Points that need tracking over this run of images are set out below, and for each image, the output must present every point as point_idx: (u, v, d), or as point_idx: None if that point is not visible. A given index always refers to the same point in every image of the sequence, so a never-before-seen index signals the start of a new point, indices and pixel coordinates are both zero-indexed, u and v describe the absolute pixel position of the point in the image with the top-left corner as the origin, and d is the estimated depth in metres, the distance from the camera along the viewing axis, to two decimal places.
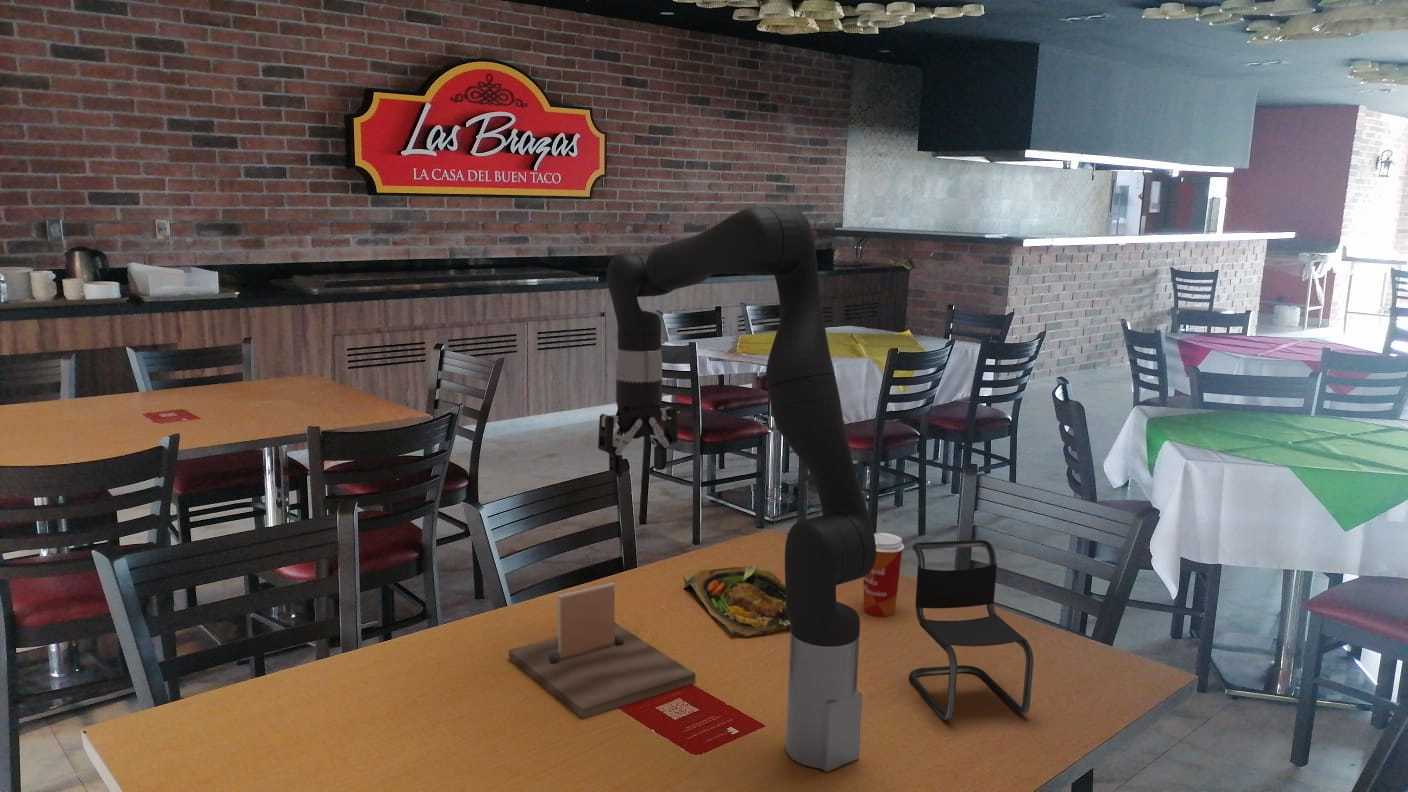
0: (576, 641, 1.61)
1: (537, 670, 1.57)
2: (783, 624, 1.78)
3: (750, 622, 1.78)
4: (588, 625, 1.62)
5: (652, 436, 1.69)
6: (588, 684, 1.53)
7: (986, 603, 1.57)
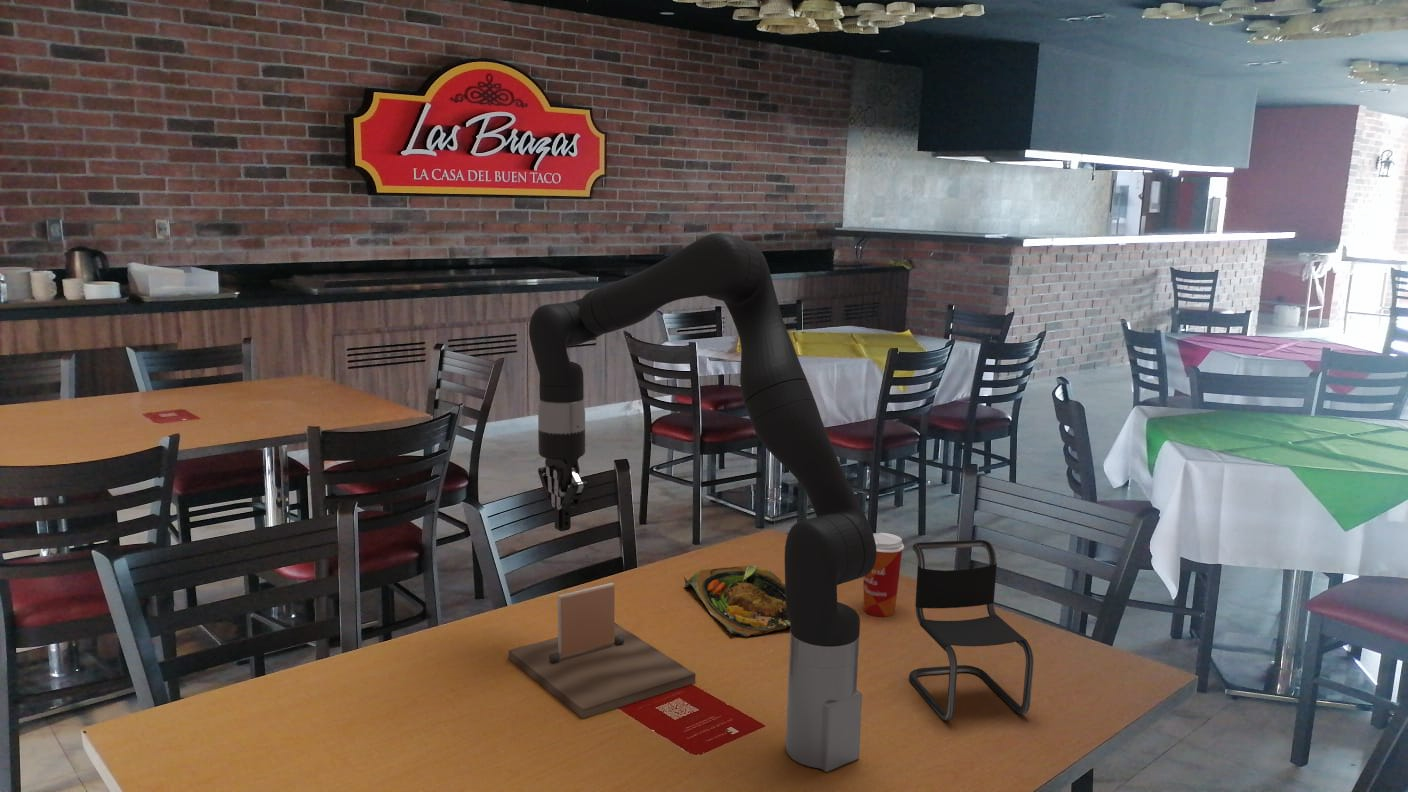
0: (576, 641, 1.61)
1: (537, 670, 1.57)
2: (782, 624, 1.78)
3: (750, 622, 1.78)
4: (588, 625, 1.62)
5: None
6: (588, 684, 1.53)
7: (986, 603, 1.57)
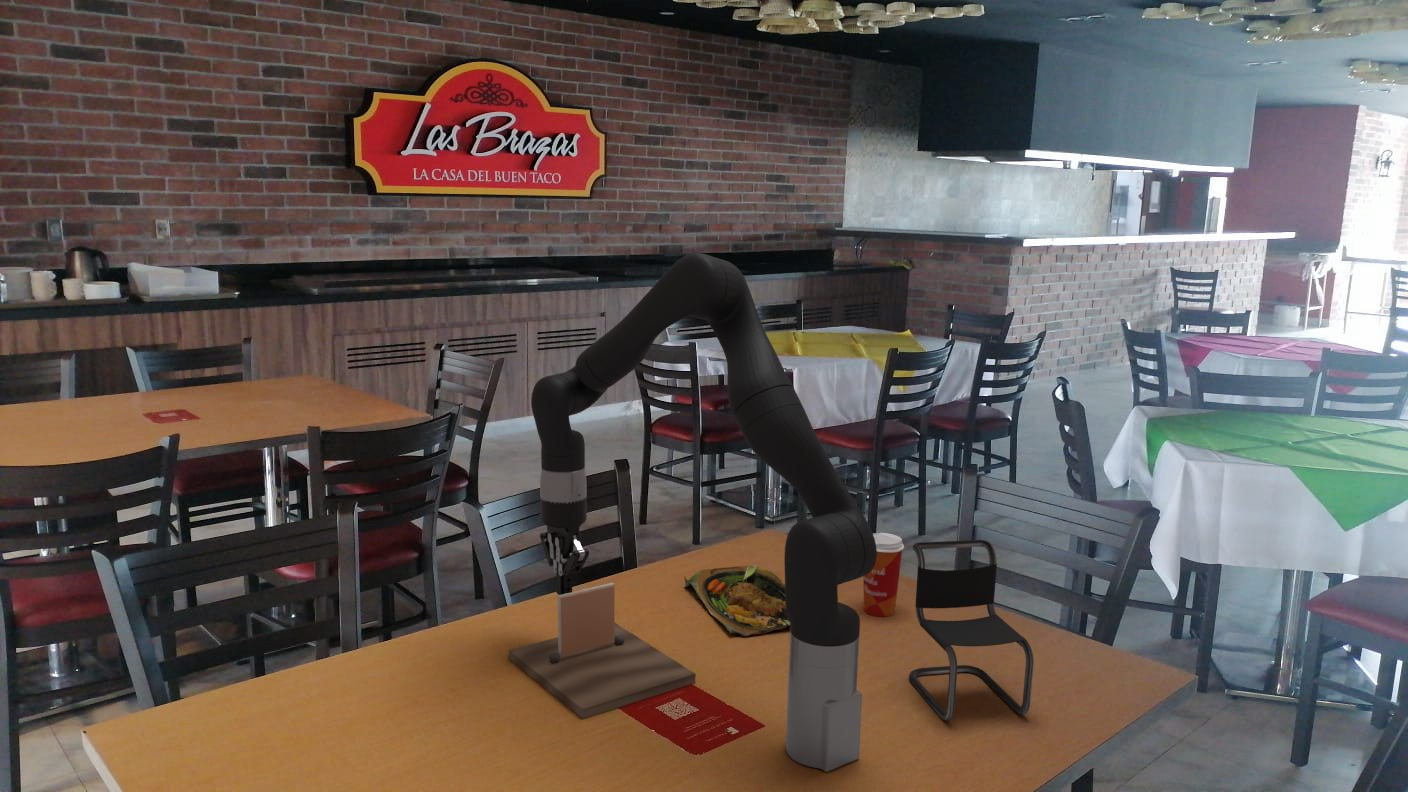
0: (576, 641, 1.61)
1: (537, 670, 1.57)
2: (782, 624, 1.78)
3: (749, 622, 1.78)
4: (588, 625, 1.62)
5: None
6: (588, 684, 1.53)
7: (986, 603, 1.57)
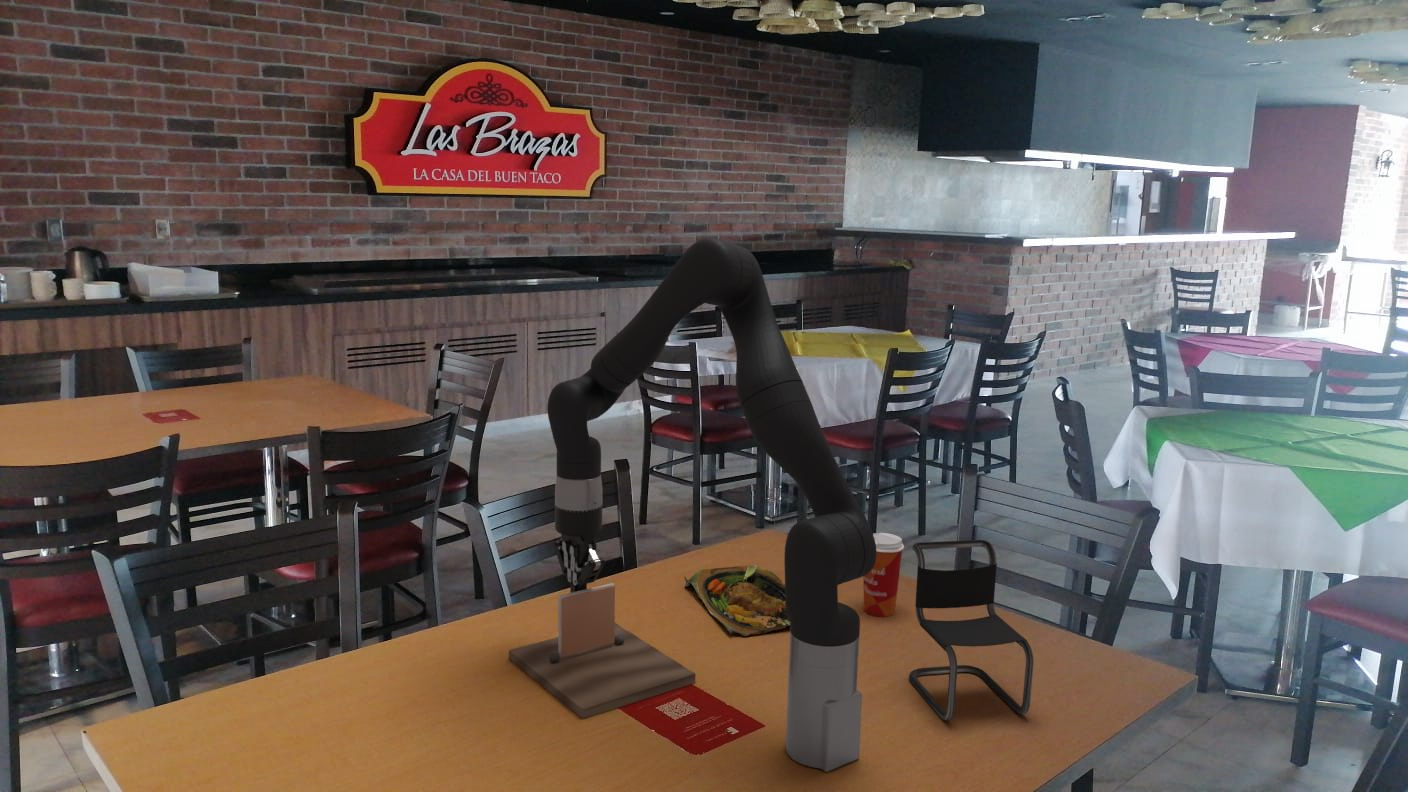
0: (576, 641, 1.61)
1: (537, 670, 1.57)
2: (782, 624, 1.78)
3: (749, 621, 1.78)
4: (588, 625, 1.62)
5: None
6: (588, 684, 1.53)
7: (986, 603, 1.57)
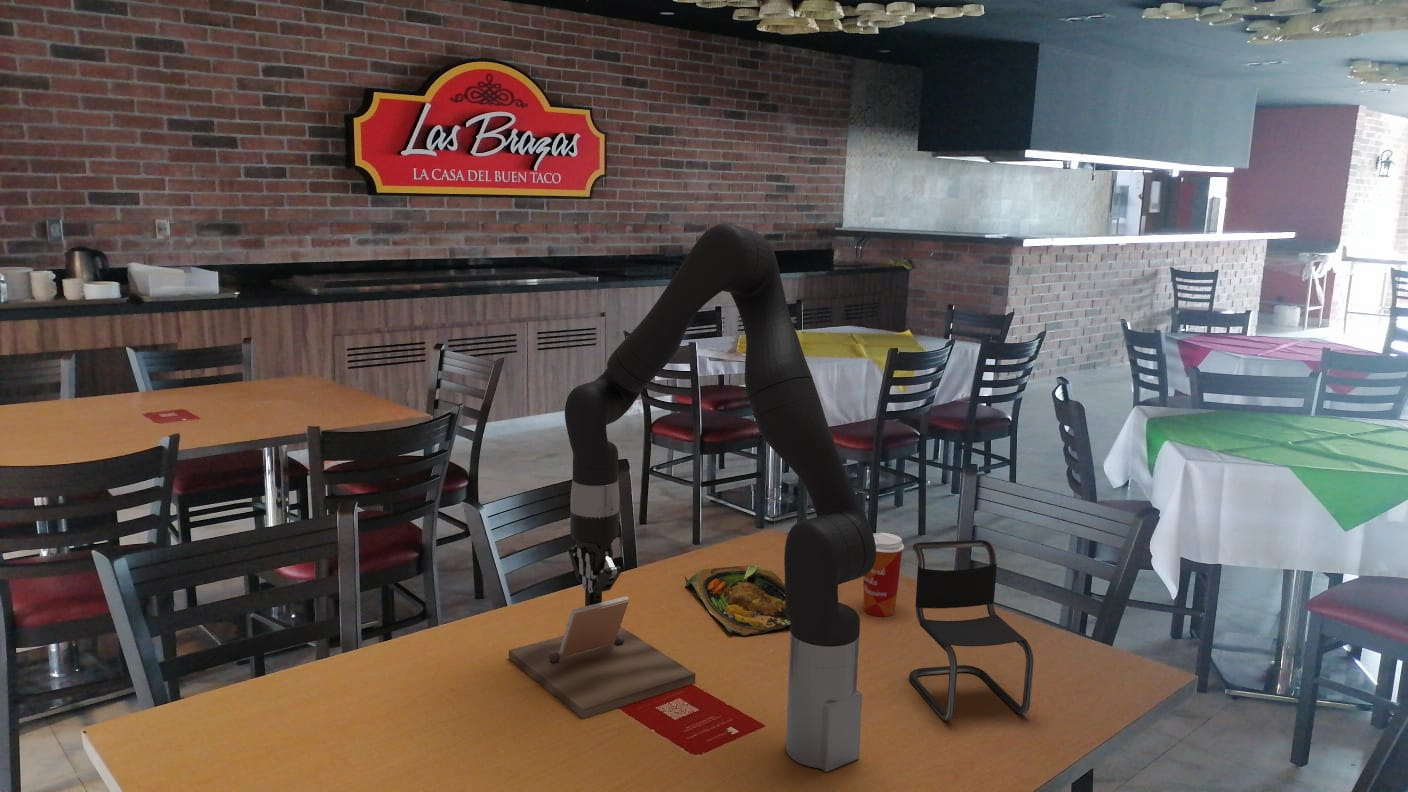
0: (579, 645, 1.61)
1: (537, 670, 1.57)
2: (781, 623, 1.78)
3: (748, 621, 1.78)
4: (593, 633, 1.61)
5: None
6: (588, 684, 1.53)
7: (986, 603, 1.57)
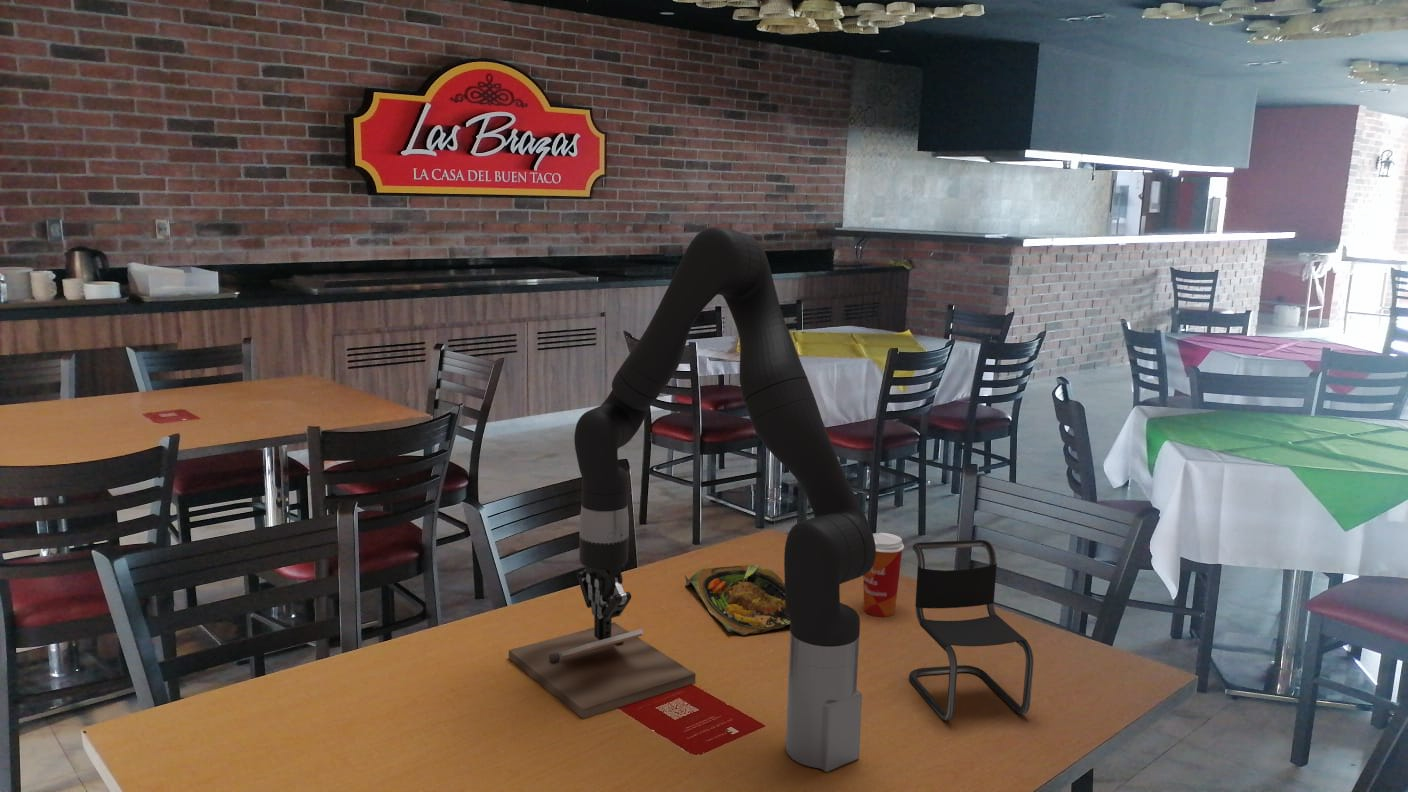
0: None
1: (537, 670, 1.57)
2: (781, 623, 1.78)
3: (748, 621, 1.78)
4: None
5: None
6: (588, 684, 1.53)
7: (986, 603, 1.57)
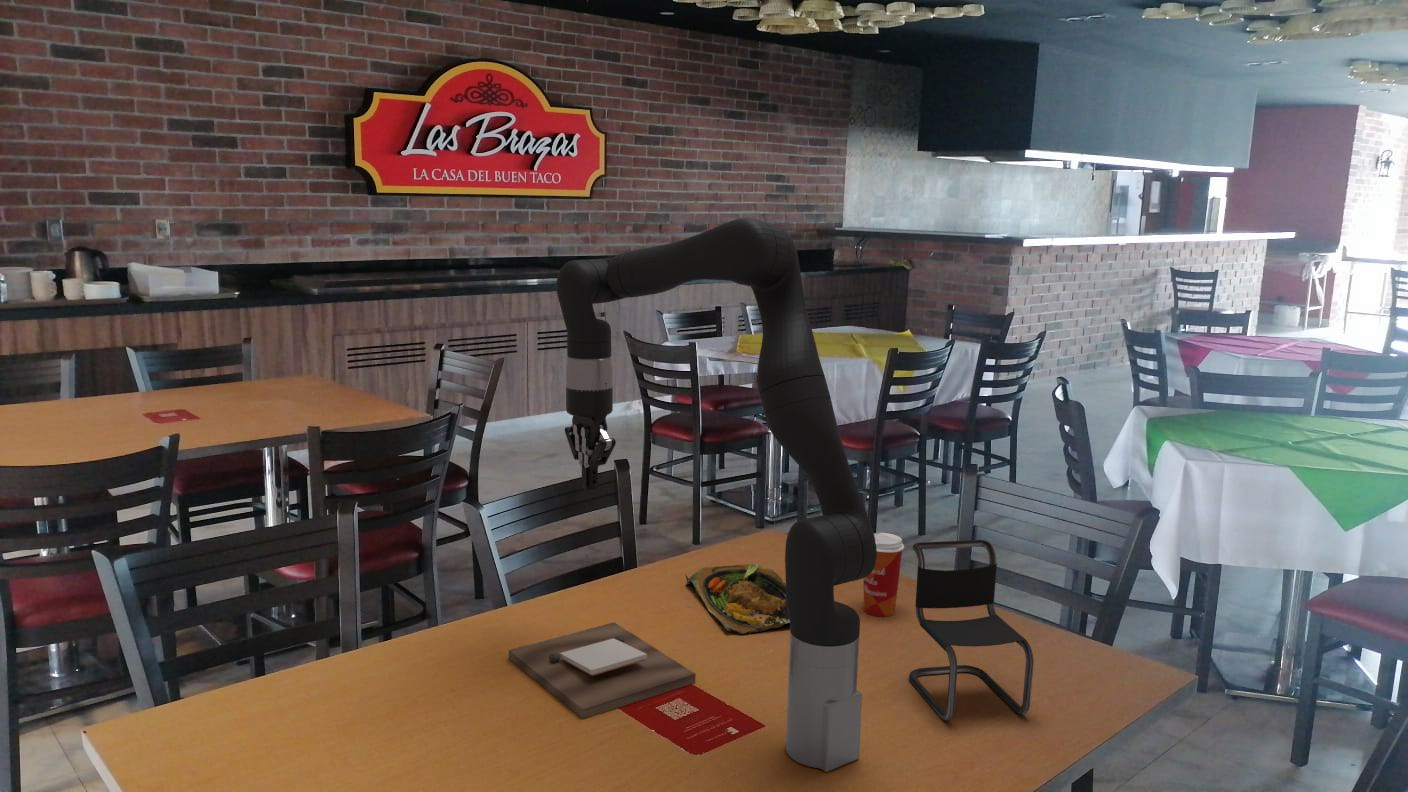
0: None
1: (537, 670, 1.57)
2: (779, 622, 1.78)
3: (746, 619, 1.79)
4: None
5: None
6: (588, 684, 1.53)
7: (986, 603, 1.57)
